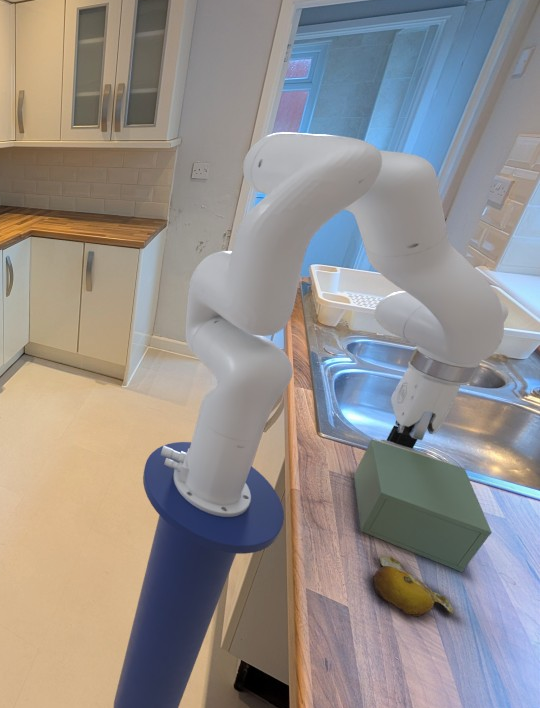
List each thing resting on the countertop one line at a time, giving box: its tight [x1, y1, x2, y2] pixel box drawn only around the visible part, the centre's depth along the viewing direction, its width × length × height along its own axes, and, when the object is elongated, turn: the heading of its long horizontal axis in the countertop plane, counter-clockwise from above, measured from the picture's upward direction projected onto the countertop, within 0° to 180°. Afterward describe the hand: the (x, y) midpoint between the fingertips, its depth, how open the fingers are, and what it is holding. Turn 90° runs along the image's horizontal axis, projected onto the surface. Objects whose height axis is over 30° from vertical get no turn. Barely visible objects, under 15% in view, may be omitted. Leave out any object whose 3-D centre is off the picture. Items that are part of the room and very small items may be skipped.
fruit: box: [372, 555, 455, 617], centre depth 58 cm, size 8×8×4 cm
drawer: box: [372, 438, 455, 465], centre depth 71 cm, size 17×10×7 cm, turn 146°
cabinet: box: [353, 439, 492, 573], centre depth 68 cm, size 14×12×9 cm
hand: (397, 447), depth 79 cm, fingers closed
